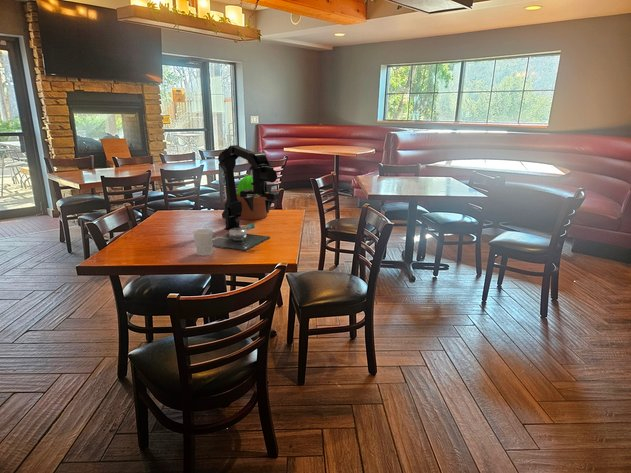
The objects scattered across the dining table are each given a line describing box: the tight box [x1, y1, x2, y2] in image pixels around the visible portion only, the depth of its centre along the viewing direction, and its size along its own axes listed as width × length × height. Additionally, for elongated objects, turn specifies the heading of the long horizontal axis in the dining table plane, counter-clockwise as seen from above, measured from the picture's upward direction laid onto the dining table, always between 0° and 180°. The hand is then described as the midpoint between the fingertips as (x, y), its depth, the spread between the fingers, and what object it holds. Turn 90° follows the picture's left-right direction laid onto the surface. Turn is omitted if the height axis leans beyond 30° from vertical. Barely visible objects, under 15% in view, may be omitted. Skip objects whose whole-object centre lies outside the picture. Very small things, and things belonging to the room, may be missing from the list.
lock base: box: [212, 232, 271, 252], centre depth 195 cm, size 24×22×2 cm
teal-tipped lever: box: [228, 222, 256, 239], centre depth 198 cm, size 17×8×3 cm, turn 156°
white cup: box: [193, 228, 214, 257], centre depth 178 cm, size 8×8×10 cm
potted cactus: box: [236, 174, 269, 221], centre depth 239 cm, size 22×22×25 cm
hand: (260, 212), depth 197 cm, fingers open, 8 cm apart
